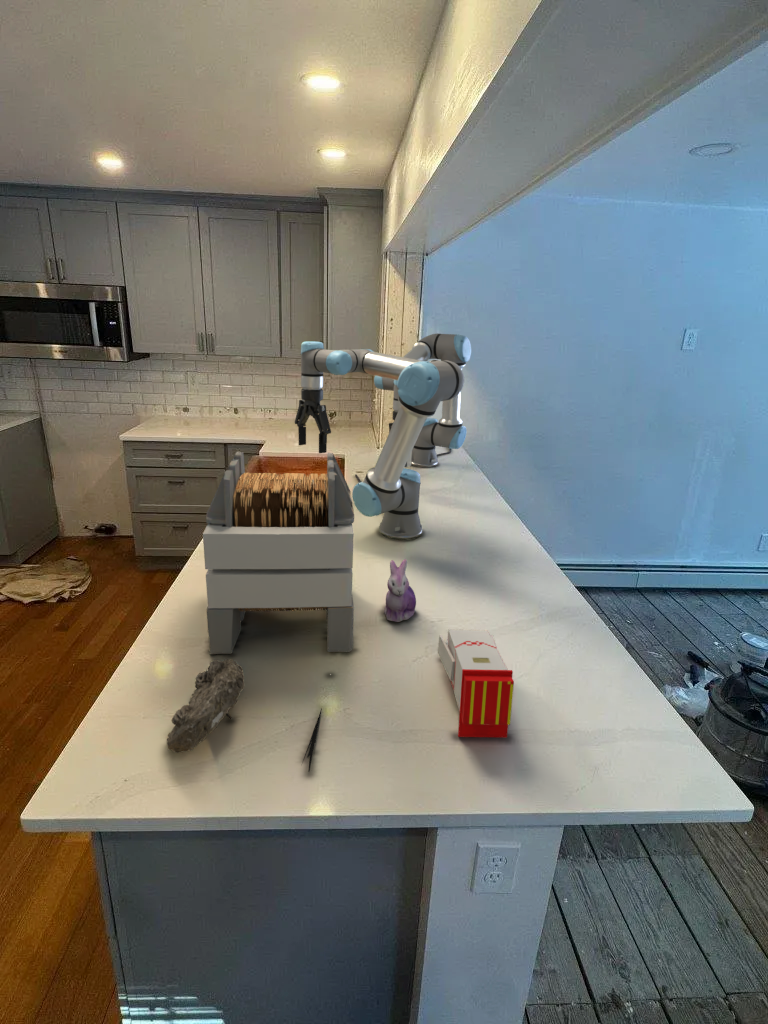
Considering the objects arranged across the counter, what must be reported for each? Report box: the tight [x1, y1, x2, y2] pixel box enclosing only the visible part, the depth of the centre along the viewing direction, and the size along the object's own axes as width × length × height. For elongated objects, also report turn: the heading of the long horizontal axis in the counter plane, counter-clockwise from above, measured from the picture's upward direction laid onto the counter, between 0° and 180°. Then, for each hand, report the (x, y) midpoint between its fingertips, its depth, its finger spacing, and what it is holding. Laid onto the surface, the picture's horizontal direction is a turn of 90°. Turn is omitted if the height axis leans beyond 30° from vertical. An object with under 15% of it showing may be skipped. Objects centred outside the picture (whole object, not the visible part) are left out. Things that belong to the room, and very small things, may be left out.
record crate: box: [202, 451, 355, 655], centre depth 137 cm, size 34×33×41 cm
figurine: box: [384, 558, 417, 623], centre depth 145 cm, size 9×10×15 cm
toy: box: [437, 628, 515, 738], centre depth 117 cm, size 12×13×30 cm
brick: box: [404, 451, 412, 468], centre depth 240 cm, size 9×5×7 cm, turn 129°
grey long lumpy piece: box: [166, 658, 245, 754], centre depth 106 cm, size 22×10×15 cm
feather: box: [301, 673, 332, 771], centre depth 108 cm, size 2×28×2 cm
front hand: (312, 448), depth 202 cm, fingers open, 13 cm apart
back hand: (399, 465), depth 241 cm, fingers closed on brick, 5 cm apart
